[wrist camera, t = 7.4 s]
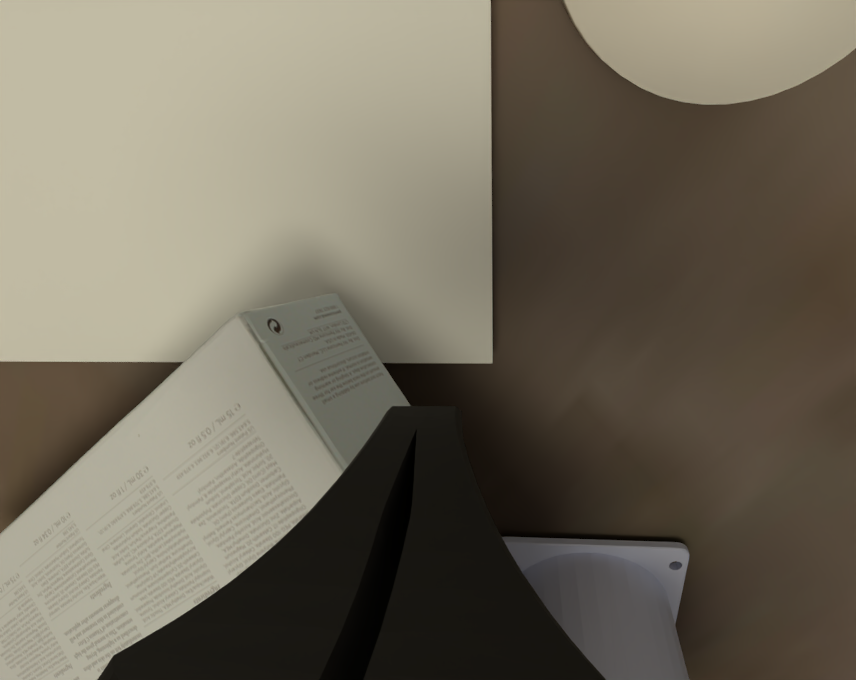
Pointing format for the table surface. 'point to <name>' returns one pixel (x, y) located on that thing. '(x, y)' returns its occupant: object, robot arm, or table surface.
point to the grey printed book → (188, 487)
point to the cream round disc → (716, 43)
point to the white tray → (243, 173)
